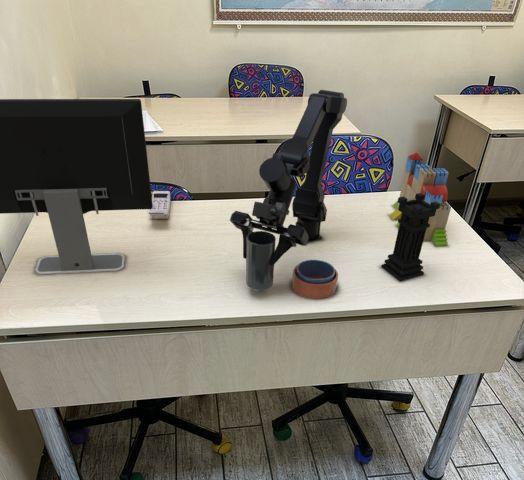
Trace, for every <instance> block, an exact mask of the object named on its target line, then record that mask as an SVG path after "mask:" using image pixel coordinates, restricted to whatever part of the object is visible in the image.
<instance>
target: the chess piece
mask: <svg viewBox="0 0 524 480" xmlns="http://www.w3.org/2000/svg"><path fill="white" fill-rule="evenodd" d="M424 197H425V195H424V194H422V193H418V194H416V195H415V199H416V200H415V199H414V200H409V201H407V198H405V197H400V196H399V197H398V198H397V201H398V203H399V208H398V210H399V211H400V212H402V215H401V219H398V220H397V223H400V224H399V228H398V230H397V233H396V237H395V241H394V242H395V243H394V247H393V251H392V253H390V254H388V255H387V259H384V263H382V264H381V266H380V268H382V269H383V270H384V271H386V272H387V273H388V274H389V275H391V276H392V277H393V278H394V279H396V280H397V281H398V282H404V281H408V280H410V279H415V278H417V277H420V276H421V277H422V276H424V274H425V271H424V270H423V269H424V266H423V265H422V264H423V260H422V259H420V256H421V251H422V248H423V244H424V241H423V240H424V237H425V233H426V229H427V228H429V227H430V224H429V223H428V222H429V218H430V217H432V216H435V213H436V210H437V209H439V208H440V203H438V202H431V205H430V204H429V203H427V202H425V201H423V200H424Z"/></svg>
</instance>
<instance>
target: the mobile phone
mask: <svg viewBox="0 0 524 480" xmlns="http://www.w3.org/2000/svg"><path fill="white" fill-rule="evenodd" d="M151 195H152V204H153V207H152V209H149V211H146V213H147V214H149V215H150V218H151V219H155V220H158V219H159V220H160V219H162V220H163V219H164V220H165V219H166V220H167V219H168V218H169V214H170V209H171V191H170V190H168V191H167V190H153V191H152V193H151Z"/></svg>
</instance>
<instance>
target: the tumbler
mask: <svg viewBox="0 0 524 480" xmlns="http://www.w3.org/2000/svg"><path fill="white" fill-rule="evenodd" d="M276 242H277V238H276V236H275V235H274V233H271V232H267V231H264V230H257V231H256V230H255V231H253V232H252V233H250V234H248V235H247V237H246V259H245V285H246V286H247V287H248V288H250V289H251V290H255V291H265V290H268V289H271V288H272V287H273V285H274V281H275V280H274V278H275V264H274V265H273V266H271V265H270V263H271V260H272V257H273V255H274V252H275V250H276V245H277V243H276Z"/></svg>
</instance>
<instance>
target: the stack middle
mask: <svg viewBox="0 0 524 480" xmlns="http://www.w3.org/2000/svg"><path fill="white" fill-rule="evenodd" d="M298 264H299V265H298ZM298 264H297V265H298V266H297V265H296V266H297V272H296V276H297V277H298V278H299V279H300V280H302V281H304V282H307V283H310V284H326V283H329V282H331V281H333V280H334V277H335V269H336V268H335V267H334V266H333V264H331V263H329V262H327V261H325V260H320V259H307V260H304V261H301V262H300V263H298ZM334 268H335V269H334ZM307 275H309V276H307ZM314 275H315V277H316V276H321V277H322V278H324V279H322V278H321V279H320V277H319V279H316V278H318V277H316V278H315V277H314ZM309 277H311V278H309ZM312 277H313V279H312ZM314 278H315V279H314Z"/></svg>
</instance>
